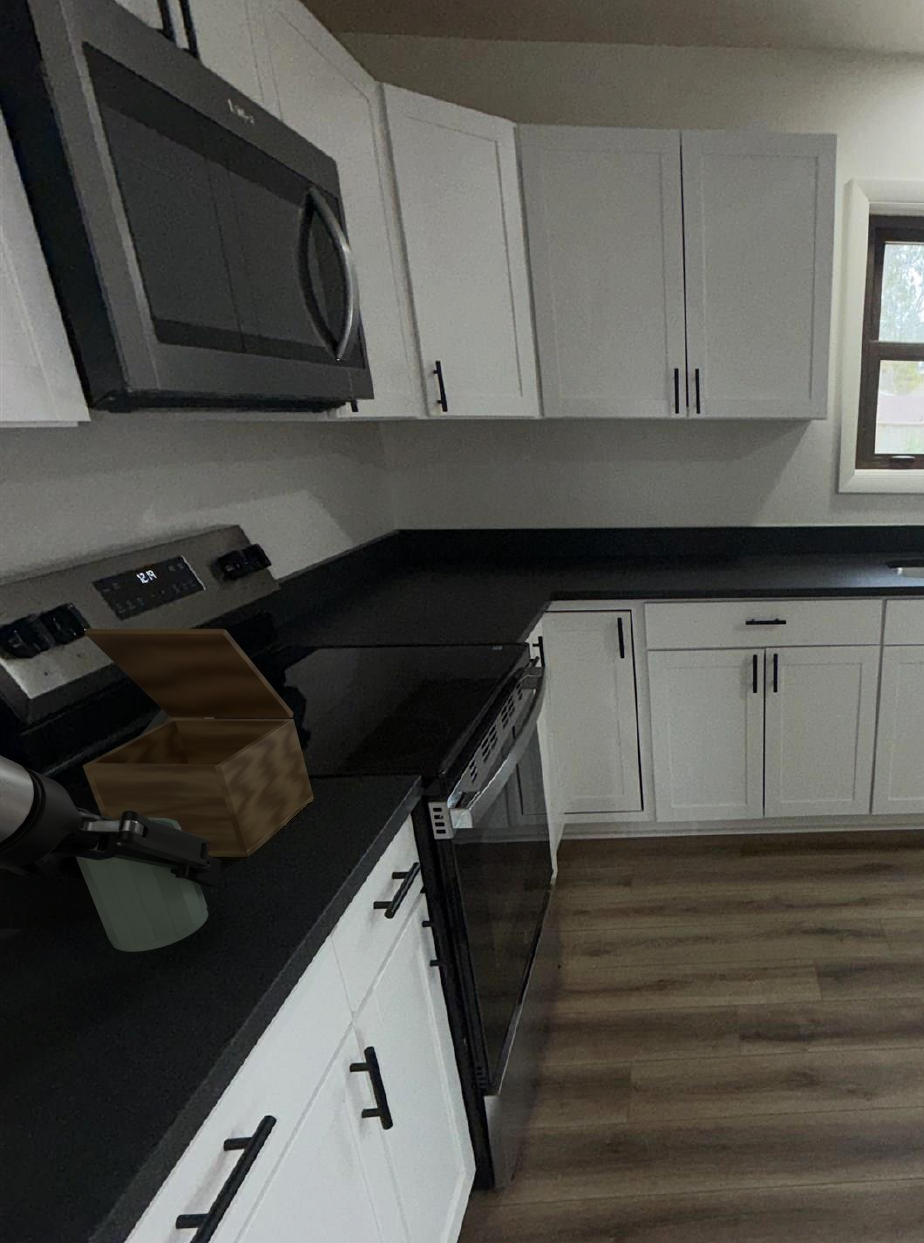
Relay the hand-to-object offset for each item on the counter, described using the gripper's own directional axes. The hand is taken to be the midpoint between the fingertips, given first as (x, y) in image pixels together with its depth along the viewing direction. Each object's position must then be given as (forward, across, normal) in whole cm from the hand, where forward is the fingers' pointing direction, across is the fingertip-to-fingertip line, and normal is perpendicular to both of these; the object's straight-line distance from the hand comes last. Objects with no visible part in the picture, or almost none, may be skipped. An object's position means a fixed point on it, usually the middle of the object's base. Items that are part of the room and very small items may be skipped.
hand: (168, 876), depth 80 cm
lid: (+13, -9, +29) cm, 33 cm away
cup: (0, 0, -5) cm, 5 cm away
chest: (+24, -9, +13) cm, 29 cm away
